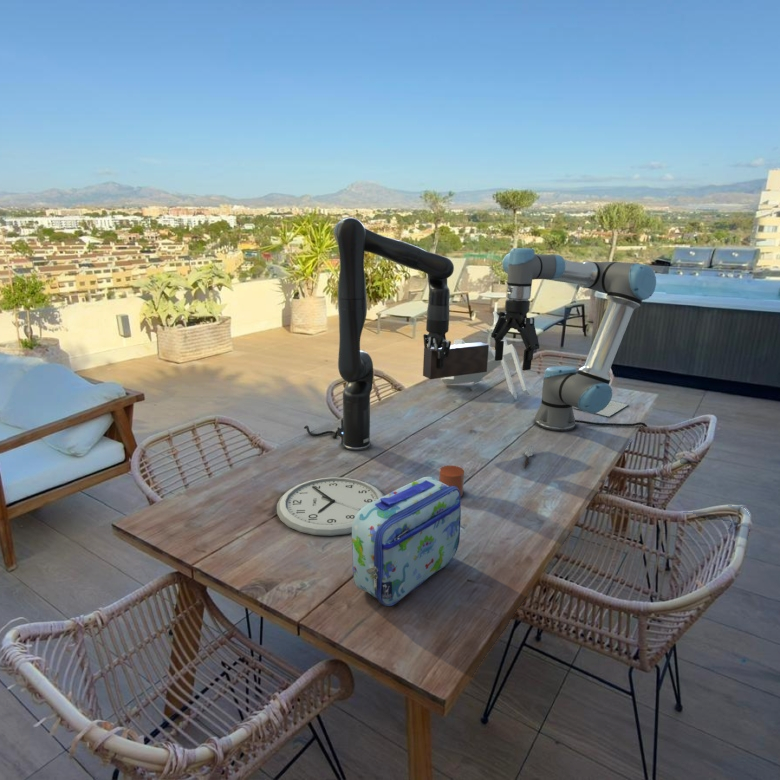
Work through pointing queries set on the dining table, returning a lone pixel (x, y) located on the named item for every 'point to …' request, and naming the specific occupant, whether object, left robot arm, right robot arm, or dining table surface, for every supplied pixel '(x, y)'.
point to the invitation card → (611, 408)
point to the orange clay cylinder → (452, 477)
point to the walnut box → (457, 360)
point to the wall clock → (325, 505)
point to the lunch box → (405, 538)
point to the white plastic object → (493, 367)
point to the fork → (528, 455)
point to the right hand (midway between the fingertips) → (512, 365)
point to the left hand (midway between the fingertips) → (435, 366)
